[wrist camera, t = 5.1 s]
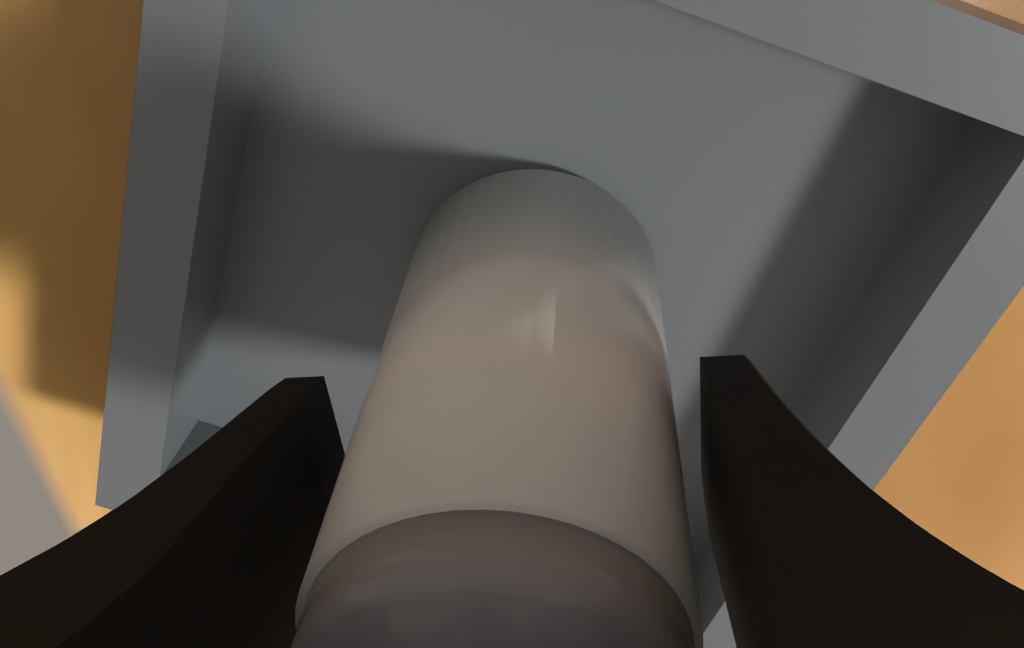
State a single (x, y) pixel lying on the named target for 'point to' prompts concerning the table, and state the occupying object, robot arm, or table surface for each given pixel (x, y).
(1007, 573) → the table surface
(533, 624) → the cylinder
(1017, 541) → the table surface
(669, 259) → the tray
